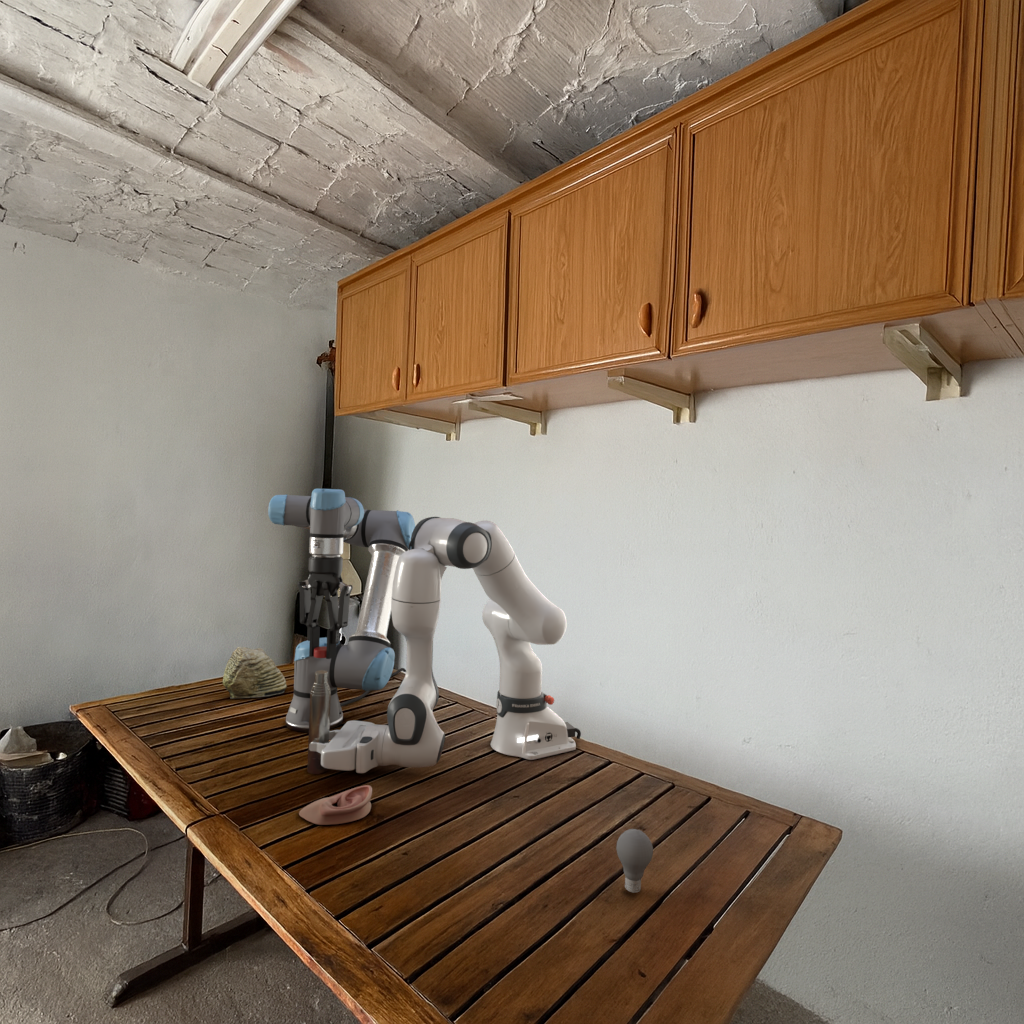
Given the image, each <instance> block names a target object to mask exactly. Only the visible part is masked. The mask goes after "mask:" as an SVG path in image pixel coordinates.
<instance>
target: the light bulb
mask: <svg viewBox="0 0 1024 1024" xmlns="http://www.w3.org/2000/svg"><path fill="white" fill-rule="evenodd" d="M615 849H616V854H617V857H618V859H619V861H620V863H621V865H622V867H623V873H624V874H623V875H624V876H625V878H624V888H625V890H627V891H628V892H630V893H634V894H635V893H639V892H640V891H641V889H642V887H641V886H642V879H643V877H644V875H645V871H646V868H647V867H648V866H649V864H650V863H651V861H652V859H653V855H654V847H653V843H652V841H651V838H649V836H648V835H647V834H646V833H645V832H643V831H642V830H641V829H636V828H629V829H627V830H625V831H623V832H622V833H621V834H620V835H619V837H618V839H617V841H616V847H615Z"/></svg>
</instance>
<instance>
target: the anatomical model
mask: <svg viewBox="0 0 1024 1024" xmlns="http://www.w3.org/2000/svg"><path fill="white" fill-rule="evenodd" d="M372 795H373V787H372V786H371V785H369V784H367V785H366V784H365V785H361V786H356V787H354V788H351V789H350V788H349V789H347V790H345V791H341V792H340V793H337V794H334V795H332V796H329V797H328V796H327V797H323V798H320V799H317V800H315V801H313V802H311V803H309V804H307V805H306V806H304V807H303V808H301V809H300V810H299V812H298V815H299V817H300V818H302V819H304V820H306V821H307V822H310V823H311V824H315V825H319V826H328V825H339V824H346V823H351V822H354V821H357V820H361V819H363V818H365V817H366V816H367V815H368V814H369V813H370V812H371V809H372V803H371V798H372V797H373V796H372Z"/></svg>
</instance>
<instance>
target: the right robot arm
mask: <svg viewBox="0 0 1024 1024" xmlns="http://www.w3.org/2000/svg"><path fill="white" fill-rule="evenodd" d="M448 567H451V568H452V567H453V568H457V569H460V570H469V569H472V570H473V572H474V574H475V576H476V577H477V579H478V582H479V583H480V585H481V588H482V589H483V591H484V593H485V594H486V596H487V597H488V599H487V600H486V602H485V604H484V606H483V608H482V621H483V624H484V626H485V627H486V628H487V630H488V631H489V633H490V634H491V637H492V639H493V641H494V644H495V647H496V651H497V656H498V662H499V683H498V684H499V685H498V686H499V687H498V691H497V693H496V694H497V695H496V707H495V708H496V720H495V726H494V731H493V735H492V738H491V741H490V747H491V749H493V750H494V751H496V752H498V753H500V754H503V755H507V756H511V757H517V758H518V757H519V758H522V759H525V760H529V761H533V760H537V759H543V758H547V757H550V756H555V755H559V754H563V753H568V752H572V751H575V750H576V749H577V744H576V741H575V740H574V739H573V738H575V737H576V738H575V739H577V740H580V739H581V736H582V732H581V729H580V728H577V727H574V726H573V725H572V724H571V723H570V722H569V721H564V719H563V718H562V717H560V715H559V714H557V713H556V712H555V711H553V710H552V709H551V708H550V707H548V705H549V706H551V705H553V704H554V703H555V698H554V696H551V695H550V694H546V693H545V692H543V691H542V685H543V683H542V681H543V664H542V661H541V659H540V658H539V657H538V655H537V654H536V653H535V652H534V649H533V648H532V644H533V645H540V646H542V645H543V646H549V645H551V646H552V645H555V644H558V643H559V642H561V640H562V639H563V637H564V636H565V634H566V632H567V627H568V622H567V616H566V614H565V611H564V610H563V609H562V608H560V607H559V606H557V605H556V604H555V603H553V602H552V601H551V600H549V599H548V598H547V597H546V596H545V595H544V594H543V593H542V592H541V591H540V589H538V587H537V586H536V585H535V584H534V583H533V582H532V580H530V578H529V577H528V575H527V574H526V572H525V570H524V568H523V566H522V565H521V562H520V561H519V559H518V556H517V555H516V552H515V551H514V548H513V547H512V545H511V544H510V541H509V540H508V538H507V537H506V536H505V534H504V532H503V531H502V530H501V529H500V527H499V526H498V525H497V524H496V523H494V522H493V521H491V520H480V521H479V520H478V521H476V522H474V523H473V522H470V521H464V520H461V519H458V518H454V517H440V516H430V517H429V516H428V517H425V518H423V519H421V520H420V521H418V522H417V524H415V528H414V530H413V532H412V536H411V541H410V543H409V550H408V551H406V552H404V553H403V554H401V556H400V557H399V559H398V562H397V565H396V569H395V574H394V580H393V587H392V599H391V620H392V626H393V627H394V629H395V630H396V631H397V632H398V633H399V634H401V635H402V636H403V637H404V639H405V643H406V657H405V659H406V660H405V662H406V664H405V670H406V672H405V675H404V677H403V679H402V681H401V683H400V685H399V686H398V689H397V690H396V692H395V694H394V695H393V696H392V697H391V700H390V701H389V703H388V706H387V709H386V718H387V724H375V723H374V722H371V721H363V720H356V719H355V720H354V719H353V720H347V721H346V723H344V724H343V726H342V727H341V728H340V729H334V730H329V743H325V744H323V743H319V741H312V742H311V743H310V744H309V750H310V751H317V752H319V753H321V766H323V767H324V768H327V769H328V770H335V771H346V772H348V771H355V772H356V773H357V774H366V773H367V772H369V771H370V770H372V769H375V768H377V767H380V766H381V767H387V766H393V765H395V766H399V767H401V768H419V769H420V768H430V767H433V766H436V765H437V764H438V763H439V761H440V760H441V756H442V753H443V750H444V746H445V741H446V734H445V731H443V730H442V728H441V727H440V726H439V723H438V722H437V720H436V718H435V715H434V712H433V711H434V709H435V708H436V706H437V705H438V702H439V698H440V692H439V691H440V690H439V687H438V684H437V681H436V679H435V676H434V672H433V671H434V670H433V661H434V659H433V657H434V637H435V633H436V630H437V626H438V623H439V622H438V621H439V617H440V611H441V602H442V601H441V599H442V580H443V576H444V573H445V571H446V570H447V568H448Z"/></svg>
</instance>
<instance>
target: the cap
mask: <svg viewBox="0 0 1024 1024" xmlns="http://www.w3.org/2000/svg"><path fill="white" fill-rule="evenodd" d="M326 650H327V647H325V646H323V647H316V648H314V657H316V658H326Z"/></svg>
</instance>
